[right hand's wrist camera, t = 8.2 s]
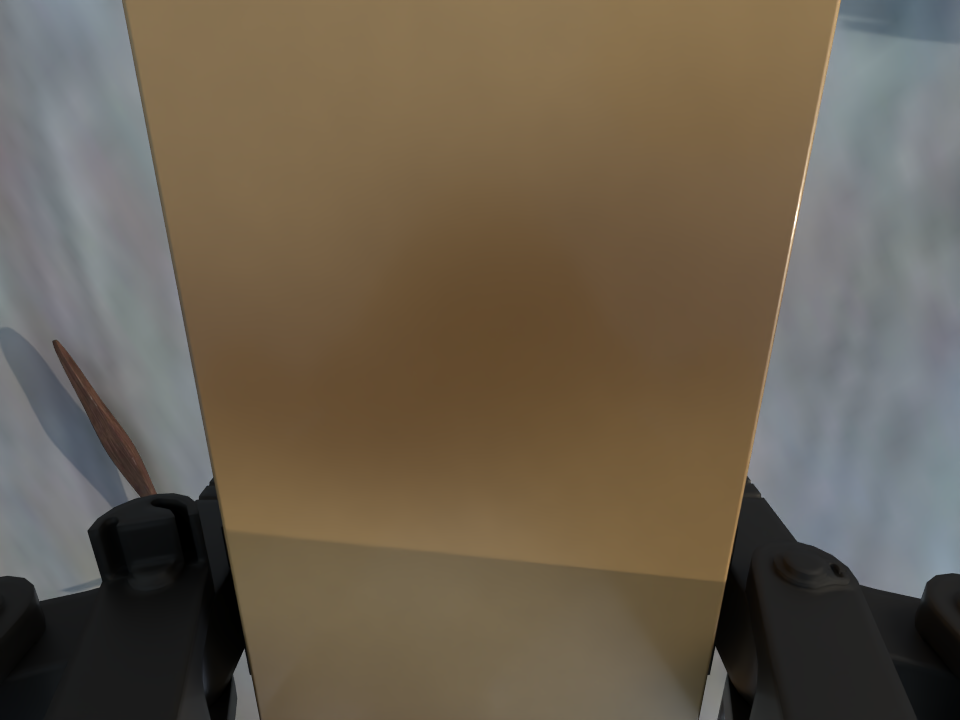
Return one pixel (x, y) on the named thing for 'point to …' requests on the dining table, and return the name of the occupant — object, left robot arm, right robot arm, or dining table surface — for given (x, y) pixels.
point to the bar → (480, 330)
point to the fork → (107, 428)
